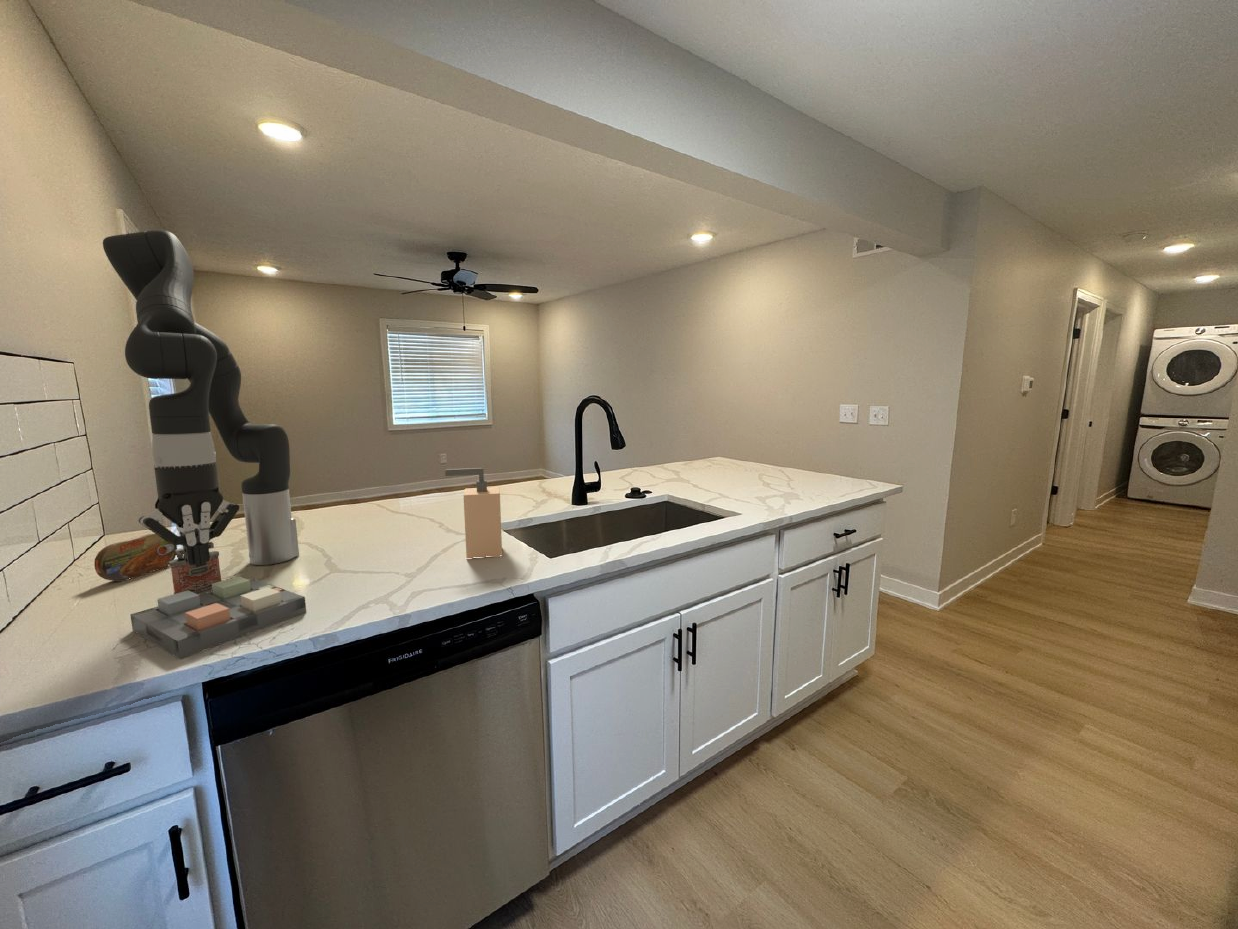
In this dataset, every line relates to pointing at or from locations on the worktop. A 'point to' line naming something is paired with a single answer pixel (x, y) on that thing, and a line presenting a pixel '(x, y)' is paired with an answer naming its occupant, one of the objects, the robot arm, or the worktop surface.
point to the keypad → (187, 641)
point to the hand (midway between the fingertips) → (198, 565)
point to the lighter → (195, 573)
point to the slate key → (178, 602)
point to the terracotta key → (207, 616)
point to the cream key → (260, 599)
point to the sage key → (230, 587)
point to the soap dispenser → (481, 516)
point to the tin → (134, 557)
